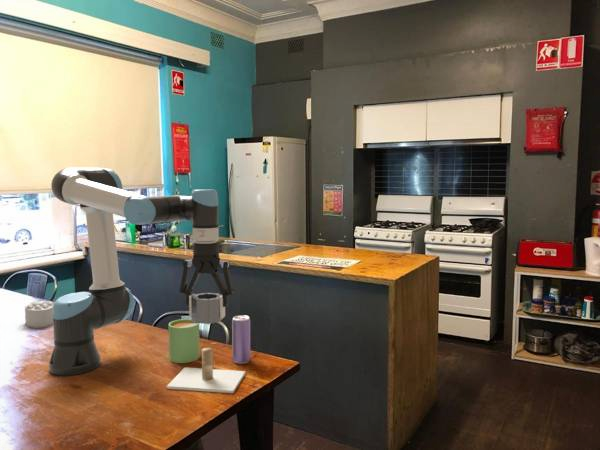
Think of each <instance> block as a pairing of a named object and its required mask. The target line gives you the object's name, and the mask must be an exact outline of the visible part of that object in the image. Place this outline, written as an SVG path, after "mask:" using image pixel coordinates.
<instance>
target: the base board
mask: <svg viewBox="0 0 600 450" xmlns="http://www.w3.org/2000/svg"><path fill="white" fill-rule="evenodd" d="M245 375H246V371H245V370H233V369H216V368H215V369H214V368H213V379H212V380H208V381H205V380H203V379H202V367H200V368H199V367H185V366H184V367H183V369H182V370H181V371H180V372H178V374H177V375H176V376H175V377H174V378H172V380H171V381H170V382H169V383H168V384H167V385H166V389H168V390H181V391H194V392H197V391H198V392H208V393H209V392H211V393H223V394H234V393H235V391H236V390H237V388H238V386H239V385H240V383H241V382H242V380H243V379H244V377H245Z"/></svg>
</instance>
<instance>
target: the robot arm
mask: <svg viewBox="0 0 600 450" xmlns="http://www.w3.org/2000/svg"><path fill="white" fill-rule="evenodd" d="M122 183H123V182H122V180H121V178H120V176H119V175H118V174H117V173H116V171H114V170H112V169H110V168H104V167H74V166H73V167H66V168H63V169H61V170H59V171H58V172H57V173H56V174H55V175H54V176H53V177H52V180H51V184H50V185H51V190H52V191H51V192H52V193H53V195H54V197H56V198H57V200H59V201H60V202H63V203H64V204H65V203H66V204H69V205H73V206H78V205H79V206H80V207H79V209H80V210H82V212H84V214H85V219H86V229H87V239H88V246H89V247H88V248H89V255H90V256H89V257H90V264H91V267H90V268H91V275H92V284H91V285H90V286H89V288H88V291H79V292H71V293H67V294H65V295H61V296H59V297H58V298H57V299H56V300H55V301H54V303H53V313H52V316H53V324H52V326H53V341H54V346H53V351H52V353H51V356H50V360H49V363H48V369H49V372H50V373H51V374H53V375H57V376H75V375H81V374H84V373H89V372H91V371H93V370H95V369H97V368H98V367H100V366H101V364H102V363H101V355H100V352H99V350H98V347H97V344H96V342H95V333H94V332H95V330H97V329H100V328H104V327H107V326H111V325H114V324H118V323H121V322H122V321H125V320H127V319H128V318H129V317H130V316H131V315H132V313H133V311H134V308H135V299H134V294H133V293H132V290H130V289H129V288H128V287H126V283H125V282H124V281H122V280H121V279H120V270H119V259H118V251H117V239H116V231H115V230H116V229H115V221H114V215H116V216H120V217H123V218H125V220H127V222H128V223H129V224H131V225H138V226H139V225H141V226H144V225H150V224H151V225H152V224H158V223H159V224H160V223H168V222H178V221H180V222H183V221H184V222H185V221H186V222H187V221H188V222H191V223H192V241H194V242H193V243H192V253H193V254H192V259H185V260H183V261H182V265H183V270H182V275H181V282H180V286H179V293H181V294H185V298H186V299H185V300H186V301H185V302H186V304H185V305H186V306H188V308H189V310H188V311H189V312H188V313H189V314H188V315H189V318H191V297H192V296H194V295H195V294H196V293H194V289H195V287H196V285H197V282H198V280H199V278H200V276H201V275H202V274H210V275H211V276H212V278H213V279H214V281H215V283H216V286H217V288H218V290H219V291H220V293H221V294H220V295H221V296H220V318H222V320H223V319H224V318H225V317H226V307H228V306H229V296H230V295H232V294H233V293H234V292H235V287H234V283H233V278H232V275H231V271H230V265H231V264H230V263H231V262H230V260H229V259H228V260H223V259H222V260H221V258H220V244H219V242H218V241H219V239H220V238H219V237H220V236H219V235H220V234H219V231H220V230H219V206H220V205H219V204H220V203H219V197H218V191H217V190H216V189H208V188H207V189H199V188H198V189H193V190H192V191H191V195H176V194H171V195H170V194H169V195H165V196H164V195H163V196H148V195H144V194H138V193H136V192H132V191H128V190H125V189H123V184H122ZM192 266H194V267H195V270H194V272H193V276H192V278H191V280H190V282H189V277H190V272H191V267H192ZM219 266H220V267H221V268H222V272H223V277H224V280H223V278H222V276H221V275H220V271H219V268H218V267H219ZM224 281H225V282H224ZM188 283H189V284H188Z"/></svg>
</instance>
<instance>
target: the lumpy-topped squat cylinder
mask: <svg viewBox="0 0 600 450" xmlns="http://www.w3.org/2000/svg"><path fill="white" fill-rule="evenodd" d="M53 304H54V303H53V302H52V301H51V300H50V301H44V300H39V301H33V302H30V303H29V304H26V305H25V306H24V312H25V317H24V319H25V326H27V327H29V328H46V327H50V326H53V316H52V313H53Z"/></svg>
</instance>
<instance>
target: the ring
mask: <svg viewBox="0 0 600 450" xmlns="http://www.w3.org/2000/svg"><path fill="white" fill-rule="evenodd" d="M194 294H195V295H194V296H192V297H191V317H190V319H191V320H192V321H194V322H195V323H199V324H201V325H202V324H203V325H204V324H205V325H210V324H216V323H219V322H220V321H222V320H223V319H222V318H220V296H221V295H222V294H220V293H219V292H218V293H217V292H202V293H194Z"/></svg>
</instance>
